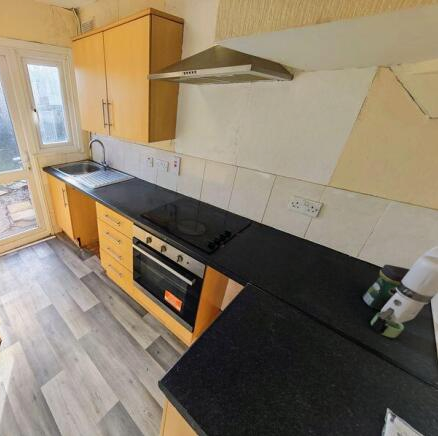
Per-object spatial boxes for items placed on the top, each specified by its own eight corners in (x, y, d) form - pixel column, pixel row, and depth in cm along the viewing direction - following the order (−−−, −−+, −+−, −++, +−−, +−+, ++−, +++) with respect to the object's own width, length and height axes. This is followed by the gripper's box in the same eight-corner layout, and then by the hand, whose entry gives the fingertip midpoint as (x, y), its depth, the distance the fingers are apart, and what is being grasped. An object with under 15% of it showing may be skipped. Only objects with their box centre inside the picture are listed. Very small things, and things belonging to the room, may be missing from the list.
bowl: (378, 319, 85) (385, 310, 83) (401, 336, 79) (409, 327, 77) (365, 322, 83) (371, 314, 81) (387, 340, 77) (395, 331, 75)
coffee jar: (386, 301, 93) (413, 266, 85) (397, 316, 87) (428, 279, 78) (358, 294, 96) (381, 259, 87) (367, 308, 89) (393, 272, 81)
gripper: (411, 305, 67) (379, 343, 75) (446, 295, 72) (413, 331, 80) (382, 287, 73) (355, 323, 82) (416, 279, 78) (388, 314, 86)
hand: (384, 327), depth 81 cm, fingers closed on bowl, 7 cm apart
